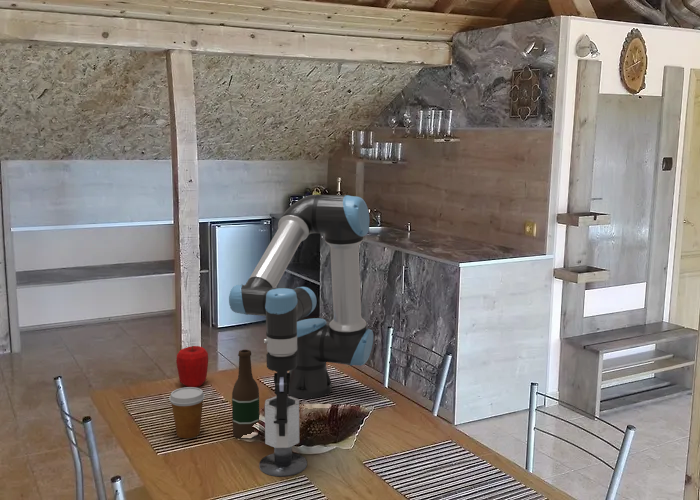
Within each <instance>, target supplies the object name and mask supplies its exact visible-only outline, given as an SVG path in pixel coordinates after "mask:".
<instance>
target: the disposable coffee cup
mask: <svg viewBox="0 0 700 500" xmlns="http://www.w3.org/2000/svg"><path fill="white" fill-rule="evenodd" d="M205 395H206V394H204V392H203V389H201V388H199V387H187V386H184V387H180V388H176V389H175V390H173V391H171V392H170V396H169V399H168V400H169V402H170V404H171V409H172V414H173V420H174V425H175V431H176V437H178V438H180V439H191V438H195V437H198V436H199V435H200V434H201V426H202V425H201V424H202V416H203V415H202V414H203V403H204V399H205Z"/></svg>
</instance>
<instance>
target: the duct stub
mask: <svg viewBox="0 0 700 500" xmlns="http://www.w3.org/2000/svg"><path fill="white" fill-rule="evenodd" d="M273 448H274V447H273ZM292 449H293V446H291V447H288V448H274V449H273V451H274V452H273V453H271V454H268V455H266V456H264V457H263V458H261V459H260V461H259V464H258V466H259V470H260V471H261V472H262V473H264V474H265V475H268V476H271V477H277V478H278V477H280V478H282V477H284V478H285V477H291V476H292V477H293V476H295V475H298V474H301V473H302V472H303V471H305V470H306V469H307V466H308V461H307V459H306V457H305V456H303V455H301V454H298V453H297V452H296V453H295V452H293V450H292Z"/></svg>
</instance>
